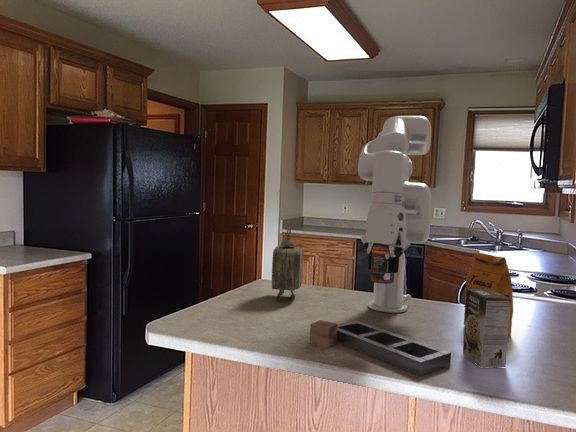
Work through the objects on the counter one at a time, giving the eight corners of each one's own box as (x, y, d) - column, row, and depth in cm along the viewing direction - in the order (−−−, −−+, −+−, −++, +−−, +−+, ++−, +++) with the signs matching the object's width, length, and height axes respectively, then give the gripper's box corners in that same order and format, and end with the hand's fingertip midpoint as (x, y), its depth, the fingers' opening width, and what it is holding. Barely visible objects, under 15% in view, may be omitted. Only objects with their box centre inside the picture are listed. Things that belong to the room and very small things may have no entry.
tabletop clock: (277, 292, 172) (280, 224, 170) (302, 294, 170) (305, 225, 169) (270, 302, 157) (273, 227, 156) (297, 304, 156) (300, 229, 155)
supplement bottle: (394, 285, 117) (396, 239, 116) (369, 283, 118) (372, 238, 118) (393, 281, 123) (396, 237, 122) (370, 279, 124) (373, 236, 123)
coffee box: (461, 354, 114) (465, 288, 113) (486, 354, 115) (491, 288, 114) (479, 368, 105) (484, 297, 104) (507, 368, 106) (512, 297, 105)
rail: (326, 337, 122) (327, 326, 122) (356, 331, 129) (357, 320, 129) (420, 376, 99) (420, 362, 99) (450, 365, 106) (451, 352, 106)
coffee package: (487, 339, 126) (493, 258, 125) (458, 326, 138) (463, 251, 137) (518, 337, 129) (523, 258, 128) (486, 324, 141) (491, 251, 139)
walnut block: (319, 338, 121) (320, 319, 121) (336, 343, 119) (337, 323, 118) (309, 344, 117) (310, 324, 117) (327, 348, 115) (328, 328, 114)
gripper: (424, 201, 115) (419, 275, 116) (371, 199, 129) (367, 265, 129) (404, 200, 110) (399, 277, 111) (351, 198, 124) (348, 266, 125)
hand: (382, 270), depth 120 cm, fingers closed on supplement bottle, 6 cm apart
